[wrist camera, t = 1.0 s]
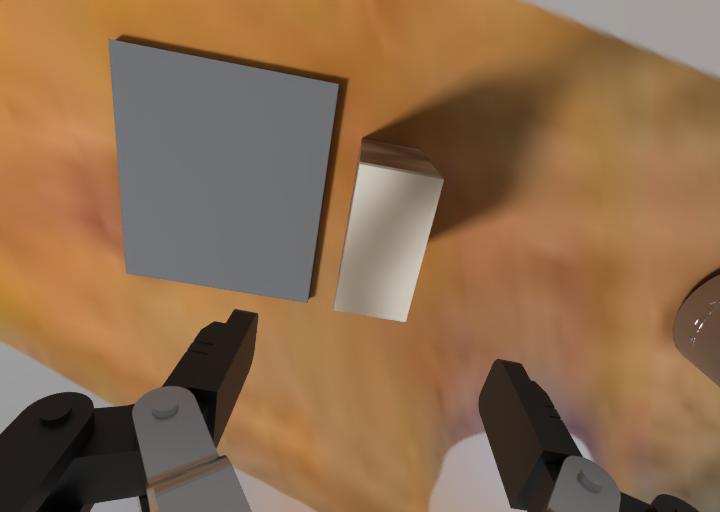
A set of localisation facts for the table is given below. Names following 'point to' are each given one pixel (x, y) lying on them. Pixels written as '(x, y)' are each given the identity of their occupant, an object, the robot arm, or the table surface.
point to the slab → (386, 230)
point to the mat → (220, 170)
